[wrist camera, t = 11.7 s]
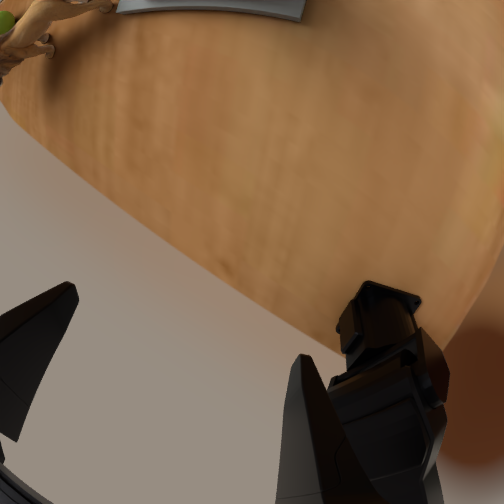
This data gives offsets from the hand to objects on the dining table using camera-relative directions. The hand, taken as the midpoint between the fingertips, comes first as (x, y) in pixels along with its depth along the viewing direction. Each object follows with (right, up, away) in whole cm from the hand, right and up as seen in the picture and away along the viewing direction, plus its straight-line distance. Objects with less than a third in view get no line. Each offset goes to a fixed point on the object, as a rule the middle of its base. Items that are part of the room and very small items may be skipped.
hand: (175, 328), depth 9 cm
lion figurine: (-15, +23, +5) cm, 28 cm away
